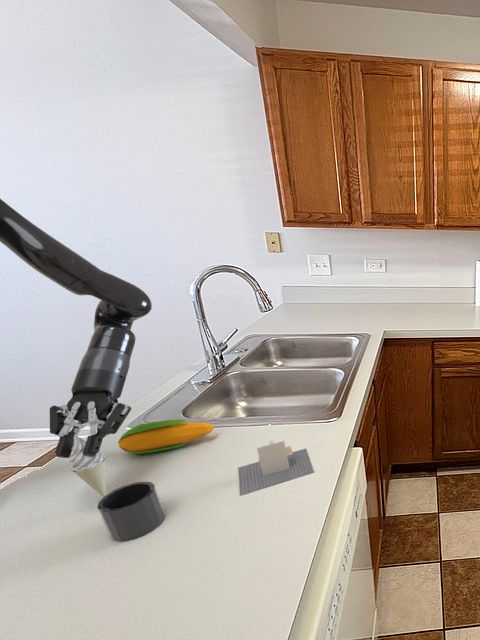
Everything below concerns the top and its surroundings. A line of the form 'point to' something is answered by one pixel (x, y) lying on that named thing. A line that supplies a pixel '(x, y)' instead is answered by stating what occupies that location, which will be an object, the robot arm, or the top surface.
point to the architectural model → (274, 467)
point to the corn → (162, 435)
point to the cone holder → (131, 511)
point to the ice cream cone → (89, 466)
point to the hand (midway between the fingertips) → (76, 456)
